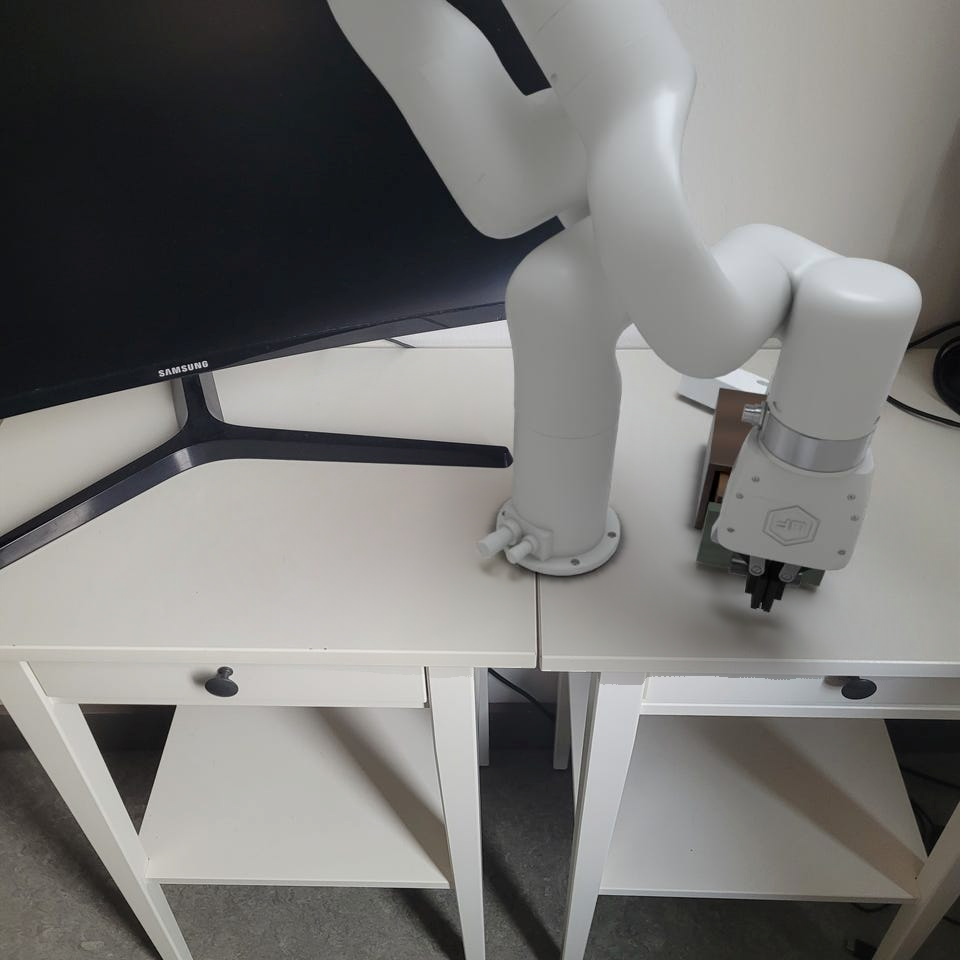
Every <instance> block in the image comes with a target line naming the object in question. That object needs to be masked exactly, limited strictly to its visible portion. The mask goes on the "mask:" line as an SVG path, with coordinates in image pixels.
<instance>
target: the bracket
mask: <svg viewBox="0 0 960 960" xmlns="http://www.w3.org/2000/svg"><path fill="white" fill-rule="evenodd" d="M776 366H777V365H775V366H774V368H773V371H772V373H771V376H770V378H769V379H766V378H764V377H762V376H760V375H757V374H755V373H753V372H749V371H747V370H745V369H742V368H741V367H740V368H738V369H737V370H735V371H733V372H731V373H729V374H727V375H725V376H721V377H717V378H713V379H698V378H692V377H689V376H686V375H684V374H682V376H681V380H680V383H679V385H678V389H677V393H678V394H680V395H682V396H684V397H686V398H688V399H691V400H693V401H694V402H695V401H696V402H698V403H700V404H702V405H704V406H706V407H708V408H711V409H713V410H715V406H716V402H717V397H718V392H719V388H726V389H733V390H739V391H746V392H752V393H759V394H765V395H768V393H769V392H770V388H771V385H772V381H773V377H774V374H775V370H776Z"/></svg>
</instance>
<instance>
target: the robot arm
mask: <svg viewBox="0 0 960 960" xmlns="http://www.w3.org/2000/svg"><path fill="white" fill-rule="evenodd" d="M326 2H327V4H328V6H329V9H330V11H331V13H332V15H333V18H334V20H335V22H336V23H337V24H338V26H339V28H340V29H341V31H342V33H343V34H344V36H345V38H346V39H347V41H348V43H349V44H350V45H351V47H352V48H353V49H354V50H355V52H356V53H357V54H358V56H359V57H360V59H361V60H362V61H363V62H364V64H365V65H366V66H367V68H368V69H369V70H370V71H371V73H372V74H373V75H374V77H376V79H377V80H378V81H379V82H380V84H381V85H382V86H383V88H384V89H385V91H386V92H387V93H388V95H389V96H390V97H391V98H392V100H393V102H394V104H395V105H396V106H397V108H398V109H399V111H400V112H401V114H402V115H403V117H404V119H405V121H406V122H407V124H408V126H409V128H410V129H411V131H412V133H413V135H414V136H415V138H416V140H417V141H418V143H419V145H420V146H421V148H422V149H423V151H424V152H425V154H426V156H427V158H428V159H429V161H430V162H431V164H432V165H433V167H434V169H435V170H436V172H437V173H438V176H439V177H440V178H441V180H442V182H443V183H444V185H445V187H446V188H447V190H448V191H449V193H450V195H451V196H452V198H453V199H454V201H455V202H456V205H457V206H458V207H459V209H460V210H461V212H462V214H463V215H464V216H465V218H466V219H467V220H468V221H469V222H470V224H471V225H472V226H473V227H474V228H475V230H477V231H478V232H480V233H481V234H483V236H486V237H489V238H493V239H497V240H503V239H511V238H514V237H517V236H520V235H523V234H525V233H527V232H529V231H531V230H533V229H534V228H536V227H538V226H541V224H544V223H545V222H548V221H549V220H551V219H552V218H554V217H557V218H558V220H559V222H560V223H561V224H562V226H563V227H564V229H563V230H561V231H560V232H558V233H557V234H555V235H552V236H551V237H550V238H549V239H547V240H545V241H543V242H542V243H541V244H539V245H538V246H537V247H534V249H532V250H531V251H530V252H529V253H528V254H527V255H526V256H525V257H524V258H523V259H522V260H521V261H520V262H519V263H518V265H517V266H516V268H515V269H514V271H513V272H512V274H511V276H510V277H509V280H508V282H507V286H506V289H505V295H504V310H505V311H504V313H505V319H506V324H507V329H508V333H509V339H510V344H511V350H512V359H513V360H512V361H513V412H514V413H513V449H512V450H513V451H512V452H513V455H512V489H511V491H512V492H511V493H512V494H511V497H510V498H509V499H508V500H507V501H506V502H505V503H503V504H502V506H501V508H500V510H499V511H498V515H497V517H496V523H495V524H496V529H495V531H494V532H490V533H489V534H488V535H486V536H485V537H483V538H481V539H480V540H478V541H477V542H476V548H477V551H478V553H479V554H480V555H481V556H482V557H483V558H484V559H487V560H488V559H491V558H492V557H494V556H495V555H496V554H498V553H499V552H501V551H503V552H504V553H505V555H506V556H505V557H506V559H507V560H508V562H509V563H510V564H512V565H515V564H518V565H520V566H521V567H524V568H526V569H528V570H530V571H532V572H537V573H539V574H544V575H550V576H574V575H581V574H584V573H587V572H591V571H593V570H595V569H597V568H599V567H600V566H601V567H602V565H604V564H605V563H606V562H608V561H609V560H610V559H611V557H612V556H613V555H614V554H615V553H616V550H617V548H618V547H619V543H620V539H621V523H620V519H619V517H618V515H617V513H616V511H615V510H614V508H612V506H610V504H609V501H610V493H611V485H612V477H613V470H614V463H615V454H616V447H617V437H618V430H619V424H620V423H619V422H620V414H621V403H622V395H623V394H622V393H623V392H622V390H623V379H622V374H621V368H620V366H619V363H618V359H617V355H616V350H617V345H618V341H619V339H620V337H621V335H622V334H623V332H624V331H625V330H627V328H629V327H630V326H631V325H634V326H635V328H636V330H637V331H638V333H639V334H640V336H641V337H642V339H643V340H644V341H645V343H646V345H648V346H649V348H650V349H651V350H652V351H653V353H654V354H655V355H656V356H657V357H658V358H659V359H660V360H661V361H663V363H665V364H666V365H667V366H668V367H669V368H671V369H673V370H674V371H676V372H677V373H679V374H681V375H683V374H684V375H686V376H689V377H692V378H698V379H713V378H717V377H721V376H725V375H727V374H729V373H731V372H733V371H735V370H737V369H738V368H740V369H741V367H742V366H743V365H745V363H747V362H748V361H749V360H750V359H751V358H752V357H753V356H754V355H755V354H756V353H757V352H758V351H759V350H761V348H762V347H763V346H764V345H765V344H766V343H767V341H768V340H769V339H776V340H778V341H779V342H780V344H781V347H780V351H779V356H778V359H777V362H776V365H775V366H776V370H775V374H774V377H773V381H772V385H771V388H770V392H769V393H768V395H767V399H766V401H762V404H761V405H759V404H756V405H749V404H745V407H744V411H743V416H742V422H748V423H752V425H754V426H753V427H752V429H751V430H750V432H749V434H748V436H747V437H746V439H745V441H744V443H743V445H742V447H741V449H740V451H739V454H738V456H737V458H736V461H735V463H734V466H733V469H732V471H731V474H730V477H729V480H728V483H727V486H726V489H725V492H724V496H723V500H722V507H721V511H720V516H719V517H718V519H717V520H716V522H715V524H714V525H713V527H712V532H711V540H712V541H713V542H715V543H718V544H720V545H722V546H724V547H725V548H727V549H729V550H732V551H735V552H737V553H738V554H739V556H740V557H741V558H742V559H743V560H744V561H745V562H746V563H747V564H748V566H749V572H748V576H746V579H745V585H744V593H745V594H749V595H750V604H749V605H750V606H749V608H750V609H752V610H757V609H758V610H759V609H760V610H762V611H763V612H765V613H770V611H771V610H772V606H773V604H774V601H775V600H777V601H782V599H783V595H784V592H785V590H786V587H787V585H786V584H787V582H790V581H792V580H793V579H794V578H795V576H796V575H797V574H800V573H802V572H805V571H808V570H811V569H813V568H814V569H820V570H826V571H838V570H842V569H844V568H845V567H847V565H848V564H849V563H850V560H851V558H852V557H853V554H854V551H855V548H856V545H857V542H858V540H859V535H860V532H861V529H862V525H863V523H864V520H865V515H866V513H867V509H868V504H869V501H870V497H871V492H872V488H873V482H874V477H875V476H874V475H875V465H876V463H875V459H874V455H873V451H872V449H871V447H870V444H871V442H872V439H873V437H874V434H875V431H876V429H877V427H878V426H877V425H878V423H879V421H880V417H881V415H882V413H883V410H884V408H885V405H886V403H887V400H888V397H889V395H890V392H891V390H892V387H893V384H894V382H895V379H896V377H897V374H898V371H899V369H900V367H901V364H902V361H903V359H904V356H905V353H906V351H907V348H908V345H909V343H910V340H911V337H912V335H913V334H914V333H913V332H914V329H915V327H916V325H917V322H918V320H919V317H920V313H921V310H922V304H923V299H922V298H923V297H922V292H921V289H920V287H919V285H918V283H917V281H915V279H913V278H912V277H911V276H910V275H909V274H908V273H907V272H905V271H904V270H903V269H900V268H898V267H896V266H894V265H891V264H889V263H885V262H882V261H879V260H874V259H870V258H864V257H863V258H862V257H849V256H845V255H842V254H839V253H838V252H835V251H833V250H831V249H829V248H827V247H825V246H822V245H820V244H818V243H816V242H814V241H813V240H810V239H808V238H806V237H804V236H802V235H800V234H798V233H796V232H793V231H791V230H789V229H786V228H783V227H781V226H779V225H774V224H770V223H762V222H757V223H748V224H745V225H741V226H739V227H737V228H735V229H733V230H732V231H730V232H728V233H727V234H726V235H724V236H723V237H722V238H720V239H719V240H718V241H716V242H715V243H714V244H712V245H711V246H710V247H709V246H708V243H707V242H706V240H705V238H704V236H703V235H702V233H701V230H700V228H699V226H698V224H697V222H696V220H695V218H694V215H693V212H692V210H691V207H690V205H689V201H688V198H687V194H686V190H685V185H684V179H683V177H684V176H683V171H682V150H683V141H684V140H683V139H684V135H685V130H686V126H687V123H688V119H689V115H690V111H691V107H692V104H693V102H694V101H693V100H694V95H695V92H696V87H697V79H698V78H697V77H698V75H697V69H696V65H695V62H694V59H693V58H692V56H691V55H690V52H689V51H688V49H687V48H686V46H685V44H684V42H683V41H682V39H681V37H680V35H679V33H678V31H677V30H676V27H675V26H674V23H673V22H672V20H671V18H670V15H669V14H668V12H667V11H666V8H665V7H664V5H663V4H662V2H661V0H501V2H502V4H503V5H504V8H505V9H506V11H507V12H508V14H509V16H510V17H511V19H512V21H513V23H514V24H515V26H516V28H517V30H518V31H519V34H520V35H521V37H522V38H523V40H524V42H525V44H526V46H527V47H528V49H529V50H530V53H531V54H532V56H533V58H534V59H535V62H536V63H537V65H538V66H539V68H540V69H541V71H542V73H543V75H544V76H545V77H546V80H547V81H548V83H549V85H550V87H548V88H544V89H541V90H538V91H536V92H533V93H531V94H528V95H525V94H523V92H522V91H521V90H520V89H519V87H517V85H516V84H515V82H514V81H513V79H512V78H511V76H510V74H509V73H508V71H507V70H506V69H505V66H503V64H502V61H501V60H500V58H499V56H498V53H497V52H496V50H495V48H494V47H493V45H492V44H491V42H490V41H489V40H488V38H487V37H486V36H485V35H484V33H483V32H482V30H481V29H479V27H478V26H477V25H476V24H474V23H473V22H472V21H471V20H470V19H469V17H467V16H466V15H465V14H463V13H462V12H461V11H460V10H458V8H456V7H455V6H453V5H452V4H451V3H450V2H448V1H447V0H326ZM770 560H771V562H770Z"/></svg>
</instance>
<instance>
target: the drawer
mask: <svg viewBox="0 0 960 960" xmlns="http://www.w3.org/2000/svg"><path fill="white" fill-rule="evenodd" d="M730 474H731V473H729V472H723V471H718V470H717V473H716V477H715V482H714V489H713V497H712V502H709V505H708V509H707V513H706V518H705V522H704V526H703V529H702V530H701V536H700V540H699V543H698V547H697V548H698V549H697V552H696V558H695V559H696V560H695V562H697V563H702V564H706V565H712V566H716V567H721V568H726V569H728V574H731V575H732V574H733V575H738V576H742V577H747V576H748V572H749V566H748V564H747V563H746V562H745V561H744V560H743V559H742V558H741V557H740V556H739V554H738V553H737V552H735V551H732V550H729V549H727V548H725V547H724V546H722V545H720V544H718V543H715V542H713V541H712V540H711V532H712V527H713V525H714V524H715V522H716V520H717V519H718V517H719V516H720V511H721V507H722V500H723V496H724V492H725V489H726V486H727V483H728V480H729V477H730ZM770 562H771V560H770ZM826 571H827V570H820V569H814V568H813V569H811V570H808V571H805V572H802V573H800V574H797V575H796V576H795V578H794V579H793V580H792V581H790V582H787V584H786V586H791V587H795V588H799V587H800V586H801V584H804V585H809V586H810V585H811V586H815V587H820V586H821V583H822V581H823V579H824V575H825V574H826Z"/></svg>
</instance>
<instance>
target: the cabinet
mask: <svg viewBox="0 0 960 960" xmlns="http://www.w3.org/2000/svg"><path fill="white" fill-rule="evenodd" d="M766 399H767V395H765V394H759V393H752V392H746V391H739V390H733V389H726V388H719V392H718V397H717V402H716V406H715V409H714V410H713V411H714V412H713V415H712V421H711V426H710V430H709V434H708V439H707V443H706V448H705V455H704V460H703V466H702V467H703V468H702V475H701V481H700V488H699V493H698V494H699V495H698V501H697V506H696V514H695V519H694V528H696V529H701V530H703V526H704V522H705V518H706V513H707V509H708V505H709V502H712V497H713V489H714V482H715V477H716V473H717V470H718V471H723V472H729V473H731V471H732V469H733V466H734V463H735V461H736V458H737V456H738V454H739V451H740V449H741V447H742V445H743V443H744V441H745V439H746V437H747V436H748V434H749V432H750V430H751V429H752V427H753V426H754V425H752V423H748V422H742V416H743V411H744V407H745V404H749V405H756V404H759V405H761V404H762V401H766Z"/></svg>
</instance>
